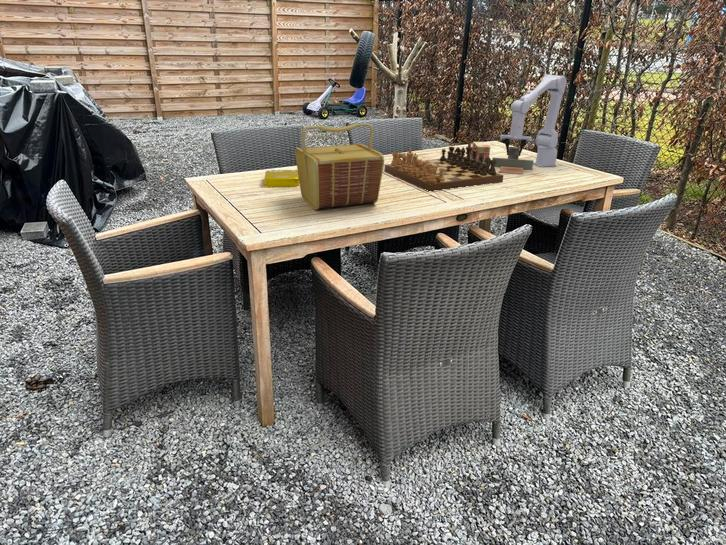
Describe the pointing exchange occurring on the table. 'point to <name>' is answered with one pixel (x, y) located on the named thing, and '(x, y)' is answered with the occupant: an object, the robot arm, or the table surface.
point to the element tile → (281, 178)
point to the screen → (514, 163)
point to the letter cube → (513, 153)
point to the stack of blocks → (480, 150)
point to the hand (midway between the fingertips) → (513, 155)
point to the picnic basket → (339, 172)
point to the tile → (511, 170)
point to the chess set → (444, 169)
